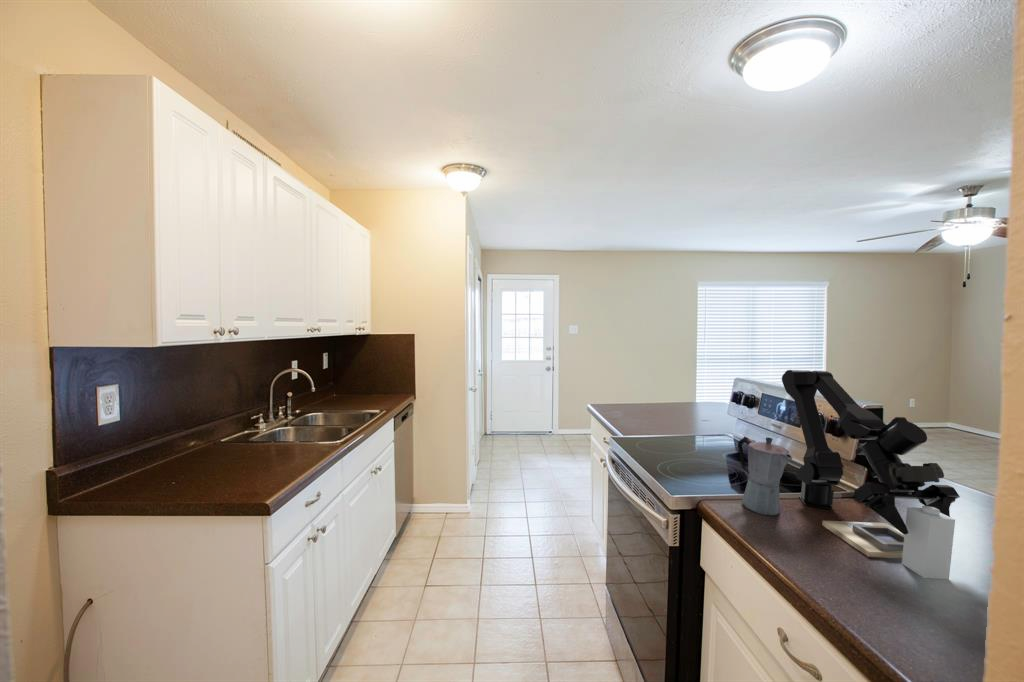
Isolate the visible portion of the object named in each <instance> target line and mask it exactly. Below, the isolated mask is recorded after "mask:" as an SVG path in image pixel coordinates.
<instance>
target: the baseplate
mask: <svg viewBox="0 0 1024 682" xmlns="http://www.w3.org/2000/svg"><path fill="white" fill-rule="evenodd" d="M821 526H823V527H824V528H825V529H827V530H829V531H830V532H832V533H833V534H834V535H836V536H837V537H839V538H840V539H842V540H843V541H844V542H846V543H847V544H848V545H850V546H852V547H853V548H854V549H856V550H857V551H859V552H861V554H864V555H865V556H866V557H868V558H887V559H902V555H903V545H904V534H902V533H901V532H900V531H899V530H898V529H896V528H895V527H894V526H893V525H891V524H890V523H887V522H871V521H870V522H865V521H847V520H846V521H843V520H822V523H821Z"/></svg>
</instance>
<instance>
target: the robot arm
mask: <svg viewBox="0 0 1024 682" xmlns="http://www.w3.org/2000/svg"><path fill="white" fill-rule="evenodd" d="M781 382H782V384H783V388H784V391H785V392H786V394H788V396H790V397H791V398H792V400H794V403H795V407H796V411H797V414H798V419H799V421H800V422H799V423H800V426H801V430H802V433H803V437H804V442H805V445H806V451H805V453H804V456H803V459H802V460H803V465H802V466H801V467H800V468H798V469H796V470H795V476H796V479H797V480H799V481H801V491H800V492H801V493H800V495H801V497H800V498H799V499H800V500H801V502H802V503H803V504H804V505H805V506H807V507H814V508H819V509H827V510H833V509H834V508H833V504H834V502H833V501H834V490H833V486H838V485H839V484H840V481H841V479H842V477H843V475H844V468H845V466H844V464H843V463H842V458H841V454H840V453H839V452H837V451H833V450H832V449H831V448H830V447H829V445H828V442H827V438H826V434H825V430H824V427H823V424H822V420H821V417H820V413H819V410H818V406H817V402H816V399H815V396H816V393H817V392H819V394H821V396H822V397H823V398H824V399H825V400H826V402H827V403H828V404H829V406H831V408H832V409H833V410H834V411H835V412H836V414H837V415H838V416H839V419H838V420H839V421H838V423H839V425H840V427H841V428H842V430H843V431H844V433H845V435H846V436H847V437H848V438H849V439H852V440H867V441H866V442H864V443H858V444H857V445H858V446H857V447H856V449H855V455H859V456H861V455H862V456H865V457H866V459H867V461H868V463H869V465H870V466H871V468H872V470H873V471H872V472H870V474H871V477H872V478H876V479H878V481H866V482H864V483H863V484H862V485H860V486H859V487H857V488H855V489H854V491H853V496H854V498H855V500H856V502H857V503H858V504H863V505H864V506H865V508H869V509H870V510H871V511H872V510H873V511H874V512H875V513H876V514H877V515H879V516H881V517H882V518H883V519H884V520H886V521H887V522H888V524H889V525H890V526H892V527H894V528H896V529H897V530H899V531H900V532H901V533H902V534H904V535H906V534H908V530H907V527H906V522H905V521H904V520H903V518H902V516H901V514H900V513H899V510H898V508H897V506H896V503H895V502H896V499H909V500H911V499H913V500H918V502H919V503H920V504H922V506H930V507H934V508H937V509H939V510H940V513H942V514H944V515H947V516H949V517H951V514H950V507H951V505H952V503H955V502H956V499H959V498H960V495H959V493H958V492H957V491H956V489H955V487H953V486H951V485H948V484H931V485H928V487H926V488H923V489H919V488H922V487H924V486H926V483H932V482H933V483H940V482H941V481H940V479H944V477H945V474H944V470H943V469H942V468H941V466H940V465H939V464H938V463H936V462H928V463H927V462H926V463H922V465H911V464H909V463H908V462H903V461H902V459H901V458H900V457H899V456H903V455H904V456H905V455H906V454H907V455H908V453H910V452H912V451H913V450H915V449H917V448H918V447H919V446H921V445H923V444H924V443H926V442H927V440H928V435H927V433H926V431H925V430H924V429H922V428H920V427H919V426H918V425H917V424H915V423H913V422H911V421H908V419H907V417H904V416H895V417H894V418H893V419H892V420H891V421H890V422H889V423H885V422H884V420H882V419H881V418H880V417H879V416H878V415H876V414H875V413H874V412H873V411H870V410H869V409H866V408H864V407H862V406H860V405H859V404H858V403H857V402H856V401H855V400H854V399H853V398H852V396H850V395H849V394H848V392H847V391H846V390H845V389H844V388H843V387H842V386H841V385H840V384H839V383H838V381H836V379H835V378H834V376H833V374H832V372H830V371H827V370H812V371H811V370H806V369H804V370H803V369H802V370H801V369H799V370H798V369H787V370H786V371H785V372H784V373H783V374H782V376H781Z"/></svg>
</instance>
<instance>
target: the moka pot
mask: <svg viewBox="0 0 1024 682" xmlns="http://www.w3.org/2000/svg"><path fill="white" fill-rule="evenodd" d="M743 444H746V445H747V466H746V462H745V455H744V448H743ZM737 448H738V452H739V458H740V464H741V468H742V469H743V470H744V471H746V472H749V473H748V474H749V476H748V477H749V478H748V479H747V482H746V487H745V489H744V490H745V491H744V493H743V495H742V496H743V497H742V501H741V504H742V505H743V506H744V507H745V508H746V509H748V510H749V511H752V512H753V513H757V514H760V515H765V516H776V515H778V514H779V513H780V510H781V507H780V505H781V503H780V484H781V478H782V476H783V474H784V471H785V467H786V465H787V464H788V463H789V461H791V460H793V455H791V454H790V451H789V449H787V448H785V447H783V446H781V445H779V444H774V443H773V438H771V437H770V436H769V437H766V438H765V441H756V440H755V439H750V438H749V437H746V436H744V437H742V438H741V439H740V440H739V441H738V443H737Z"/></svg>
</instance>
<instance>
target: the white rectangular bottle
mask: <svg viewBox="0 0 1024 682" xmlns="http://www.w3.org/2000/svg"><path fill="white" fill-rule="evenodd" d="M955 523H956V519H955V518H953V517H951V516H950V517H949V516H947V515H944V514H942V513H940V510H939V509H937V508H934V507H930V506H925V505H922V506H921V507H914V506H913V507H911V506H909V507H908V506H906V515H905V525H906V527H907V530H908V534H906V535H904V545H903V555H902V558H901V565H903V566H905V567H906V568H908V569H909V570H911V571H913V572H914V573H915V574H917V575H919V576H920V577H922V578H924V579H932V580H933V579H938V580H949V579H950V572H951V564H952V554H953V547H954V545H953V544H954V535H955V534H954V533H955V525H956V524H955Z"/></svg>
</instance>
